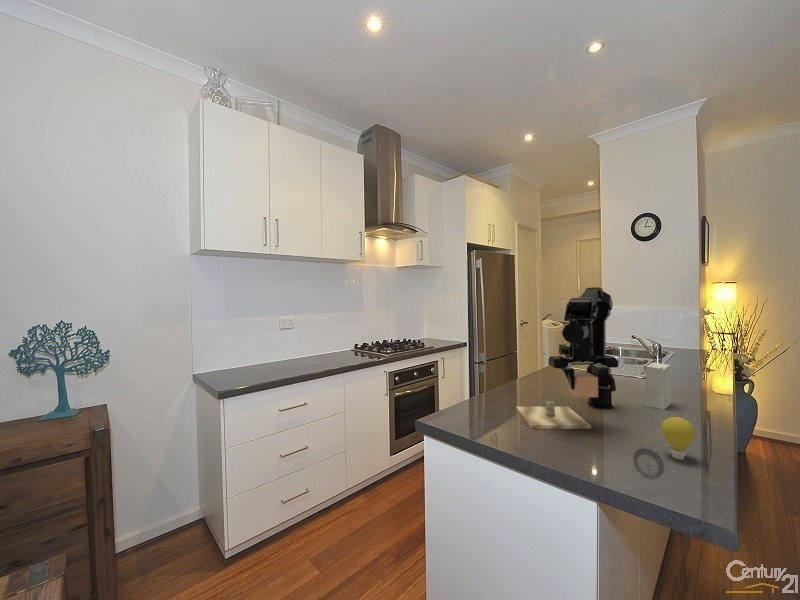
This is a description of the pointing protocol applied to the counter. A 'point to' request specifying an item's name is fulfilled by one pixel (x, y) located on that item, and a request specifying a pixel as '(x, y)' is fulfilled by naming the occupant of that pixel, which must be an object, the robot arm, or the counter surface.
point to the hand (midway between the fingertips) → (583, 389)
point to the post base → (552, 417)
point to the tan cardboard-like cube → (585, 385)
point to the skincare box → (658, 385)
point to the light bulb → (678, 435)
